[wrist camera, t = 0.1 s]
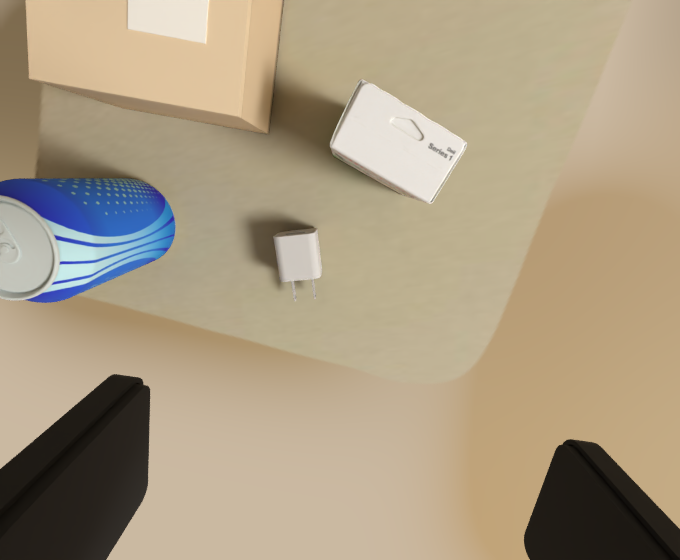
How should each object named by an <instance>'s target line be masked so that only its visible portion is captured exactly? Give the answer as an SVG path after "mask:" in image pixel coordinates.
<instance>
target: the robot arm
mask: <svg viewBox="0 0 680 560" xmlns="http://www.w3.org/2000/svg"><path fill="white" fill-rule="evenodd" d="M149 417H150V388H149V387H148V386H145V385H143V381H142V379H141V378H138V377H130V376H123V375H117V374H116V375H115V374H114V375H111V376H110V377H108V378H107V379H106V380H105V381H104V382H102V383H101V384H100V385H99V386H98V387H96V388H95V389H94V390H93V391H92V392H91V393H89V394H88V395H87V396H86V397H85V398H83V399H82V400H81V401H80V402H79V403H78V404H77V405H75V406H74V407H73V408H72V409H71V410H69V411H68V412H67V413H66V414H65V415H64V416H62V417H61V418H60V419H59V420H58V421H56V422H55V423H54V424H53V425H52V426H51V427H49V429H47V430H46V431H45V432H44V433H42V434H41V435H40V436H39V437H38V438H36V439H35V440H34V441H33V442H32V443H31V444H30V445H28V446H27V447H26V448H25V449H23V450H22V451H21V452H20V453H19V454H18V455H16V457H14V458H13V459H12V460H11V461H9V462H8V463H7V464H6V465H5V466H3V467H2V468H1V469H0V560H106V559H107V557H108V556H109V554H110V552H111V551H112V549H113V548H114V546H115V544H116V543H117V541H118V539H119V538H120V536H121V535H122V533H123V532H124V530H125V528H126V527H127V525H128V523H129V522H130V520H131V519H132V517H133V515H134V514H135V512H136V511H137V509H138V507H139V506H140V504H141V502H142V501H143V498H144V496H145V493H146V490H147V486H148V456H149ZM524 544H525V549H526V552H527V555H528V557H529V559H530V560H680V529H679V528H678V527H677V526H676V525H675V524H674V523H673V522H672V521H671V520H670V519H669V518H668V517H667V515H666V514H665V513H664V512H663V511H662V510H661V509H660V508H659V507H658V506H657V505H656V504H655V503H654V502H653V501H652V500H651V499H650V498H649V497H648V496H647V495H646V493H645V492H643V490H641V488H640V487H639V486H638V485H637V484H636V483H635V482H634V481H633V480H632V479H631V478H630V477H629V476H628V475H627V474H626V473H625V472H624V471H623V470H622V468H621V467H620V466H619V465H617V463H616V462H615V461H614V460H613V459H612V458H611V457H610V456H609V455H608V454H607V453H606V452H605V451H604V450H603V449H602V448H601V447H600V446H599V445H598V444H596V443H592V442H586V441H579V440H571V439H570V440H566V441H565V442H564V443H563V445H559V446H558V447H557V449H556V451H555V453H554V456H553V458H552V461H551V464H550V467H549V469H548V472H547V475H546V477H545V480H544V483H543V485H542V488H541V491H540V494H539V497H538V499H537V502H536V504H535V507H534V510H533V513H532V515H531V518H530V521H529V523H528V526H527V529H526V532H525V535H524Z"/></svg>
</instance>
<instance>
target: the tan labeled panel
mask: <svg viewBox="0 0 680 560" xmlns="http://www.w3.org/2000/svg"><path fill="white" fill-rule="evenodd" d="M251 7H252V0H26V20H27V40H28V63H29V79H32V80H35V81H38V82H43V83H49V84H54V85H60V86H66V87H71V88H77V89H82V90H88V91H93V92H99V93H104V94H110V95H115V96H121V97H127V98H132V99H138V100H143V101H149V102H154V103H160V104H165V105H171V106H177V107H182V108H188V109H193V110H199V111H204V112H210V113H215V114H221V115H226V116H232V117H238V118H241V116H242V105H243V94H244V83H245V72H246V61H247V50H248V40H249V29H250V18H251Z"/></svg>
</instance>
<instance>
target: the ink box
mask: <svg viewBox="0 0 680 560" xmlns="http://www.w3.org/2000/svg"><path fill="white" fill-rule="evenodd" d="M466 147H467V143H466V141H464V140H462V139H461V138H460V137H459V136H457V135H455V134H453V133H451V132H450V131H448V130H447V129H446V128H444V127H442V126H441V125H439V124H437V123H436V122H434V121H432V120H430V119H428V118H427V117H425V116H424V115H423V114H421V113H420V112H418V111H417V110H415V109H413V108H412V107H410V106H408V105H405V104H404V103H402V102H401V101H400V100H398V99H397V98H396V97H394V96H392V95H391V94H389V93H387V92H385V91H383V90H381V89H380V88H378V87H377V86H376V85H374V84H372V83H368V82H367V81H365V80H363V79H361V80H359V81H358V83H357V85H356V87H355V89H354V91H353V93H352V95H351V97H350V99H349V101H348V103H347V105H346V107H345V109H344V112H343V114H342V116H341V118H340V120H339V122H338V124H337V127H336V129H335V131H334V134H333V136H332V139H331V141H330V148H331V150H332V154H333V156H334V157H336V158H338V159H340V160H341V161H343V162H345V163H347V164H348V165H350V166H352V167H354V168H355V169H357V170H359V171H361V172H362V173H364V174H366V175H368V176H370V177H371V178H373V179H375V180H377V181H378V182H380V183H382V184H384V185H385V186H387V187H389V188H391V189H393V190H394V191H396V192H398V193H400V194H402V195H404V196H407V197H410V198H413V199H416V200H420V201H423V202H426V203H428V204H431V203H432V202H433V201H434V199H435V198H436V196H437V195H438V193H439V192H440V190H441V188H442V187H443V185H444V184H445V182H446V180H447V179H448V177H449V175H450V174H451V172H452V170H453V169H454V167H455V166H456V164H457V162H458V161H459V159H460V157H461V156H462V154H463V152H464V151H465V149H466Z"/></svg>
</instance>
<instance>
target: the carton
mask: <svg viewBox="0 0 680 560" xmlns="http://www.w3.org/2000/svg"><path fill="white" fill-rule="evenodd" d="M283 4H284V0H252V7H251V18H250V29H249V40H248V50H247V61H246V72H245V83H244V94H243V105H242V116H241V118H238V117H232V116H226V115H221V114H215V113H210V112H204V111H199V110H193V109H188V108H182V107H177V106H171V105H165V104H160V103H154V102H149V101H143V100H138V99H132V98H127V97H121V96H115V95H110V94H104V93H99V92H93V91H88V90H82V89H77V88H71V87H66V86H60V85H54V84H49V83H45V84H48V85H51V86H54V87H57V88H60V89H64V90H67V91H70V92H73V93H76V94H79V95H83V96H86V97H89V98H92V99H95V100H98V101H102V102H105V103H108V104H111V105H114V106H117V107H121V108H125V109H130V110H136V111H141V112H147V113H153V114H158V115H164V116H169V117H175V118H181V119H186V120H192V121H197V122H203V123H208V124H214V125H220V126H225V127H231V128H236V129H242V130H248V131H253V132H259V133H264V134H269V130H270V121H271V112H272V103H273V94H274V85H275V76H276V67H277V58H278V49H279V40H280V31H281V22H282V13H283ZM41 83H43V82H41Z"/></svg>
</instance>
